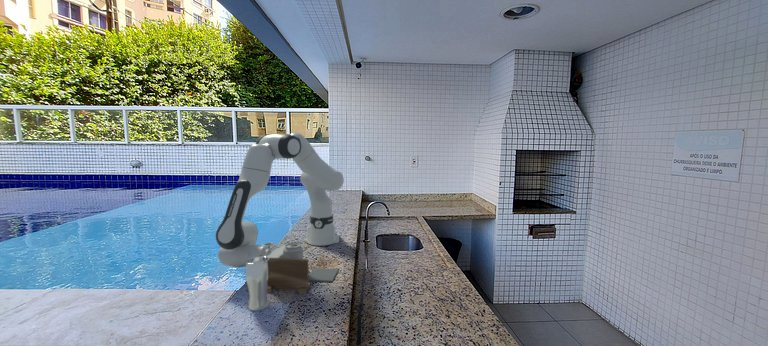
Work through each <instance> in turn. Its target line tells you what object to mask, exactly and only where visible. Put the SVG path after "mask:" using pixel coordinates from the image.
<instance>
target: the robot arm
mask: <svg viewBox="0 0 768 346" xmlns="http://www.w3.org/2000/svg"><path fill="white" fill-rule="evenodd" d="M282 159H283V160H284V159H286V160H290V159H292V160H293V161H294V163H295V164H296V166H297V167H298V168H299V169H300V170H301V175H300V183H301V184H302V186H303V187H304V188H305V189H306V191H307V194H308V197H309V201H310V217H309V225H307V227H306V237H305V238H304V239H303V242H305V243H307V244H309V245H312V246H328V245H329V246H330V245H333V244H338V243H340V233H339V232H336V229H337V228H336V225H335V223H334V214H333V200H332V199H331V198H330V196H328V195H327V192H329V191H330V192H332V191H334V192H335V191H338V190H341V188H342V186H343V185H344V181H345V180H344V175H343V173H342V172H341V171H339V170H336V169H335V168H334V167H332V166H330V165H329V164H328V163H327V162H325V160H324V159H322V158H321V157H320V156H319V154H318V153H317V152H316V149H314V147H313V146H312V145H311V143H310V141H308V139H307V138H306V137H305V136H304V135H302V133H300V132H292V133H285V134H284V133H273V134H272V133H271V134H269V133H267V134H263V135H260V136H259V137H258V138H257V140H256V142H255V144H251V146H249V148H248V150H247V151H246V154H245V156H244V159H243V162H242V166H241V167H242V168H241V171H240V173H239V174H240V175H239V178H238V180H237V183H236V184H235V186H234V188H233V191H232V194H231V196H230V198H229V201H228V204H227V208H226V210H225V214H224V216H223V219H222V221H221V223H220V224H219V226H218V227H217V229H216V232H215V240H216V243H217V244H218V246H219V249H218V252H217V254H218V255H217V256H218V260H219V262H220V263H221V264H222V265H223V266H227V267H233V268H246V263H247V262H246V261H247V260H248V259H250V258H253V257H258V256H264V257H268V258H283V249H284V248H285V245H286V244H284V243H283V244H282V243H281V244H280V243H275V244H274V242H268V243H264V244H256V243H257V239H258V235H259V230H258V227H257V225H256V224H255V223H254V222H252V221H247V220H246V221H245V220H244V221H243V219H244V216H245V213H246V210H247V207H248V204H249V201H250V200H251V199H252V197H254V196H255V195H256V194H257V193H260V192H262V191H264V189H265V188H267V185H268V183H269V181H270V178H271V173H272V164H273V162H274V161H275V160H282ZM326 191H327V192H326Z"/></svg>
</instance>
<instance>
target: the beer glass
mask: <svg viewBox="0 0 768 346" xmlns="http://www.w3.org/2000/svg"><path fill="white" fill-rule="evenodd" d="M246 262H247V263H246V267H245V279H246V281H245V282H246V287H247V292H248V296H249V297H248V306H247V308H248V310H250V311H253V312H256V311H257V312H258V311H262V310H264V309H266V308H268V306H270V305H269V304H270V303H269V299H268V292H267V290H268V284H269V278H270V265H269V258H268V257H264V256H258V257H253V258H250V259H248V260H247V261H246Z"/></svg>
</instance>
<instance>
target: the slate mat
mask: <svg viewBox="0 0 768 346" xmlns="http://www.w3.org/2000/svg"><path fill="white" fill-rule="evenodd" d="M338 273H339V269H338V268H321V267H318V268H317V267H314V268H313V269H312V271H311V272H310V273H309V274H308V282H319V283H333V282H334V280H335V278H336V276H337V275H338Z"/></svg>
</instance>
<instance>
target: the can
mask: <svg viewBox="0 0 768 346" xmlns="http://www.w3.org/2000/svg"><path fill="white" fill-rule="evenodd" d="M284 245H285V248H284V249H283V258H289V259H304V252H303V251H304V248H303V246H302V244H301V243H299V242H289V243H286V244H284Z"/></svg>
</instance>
